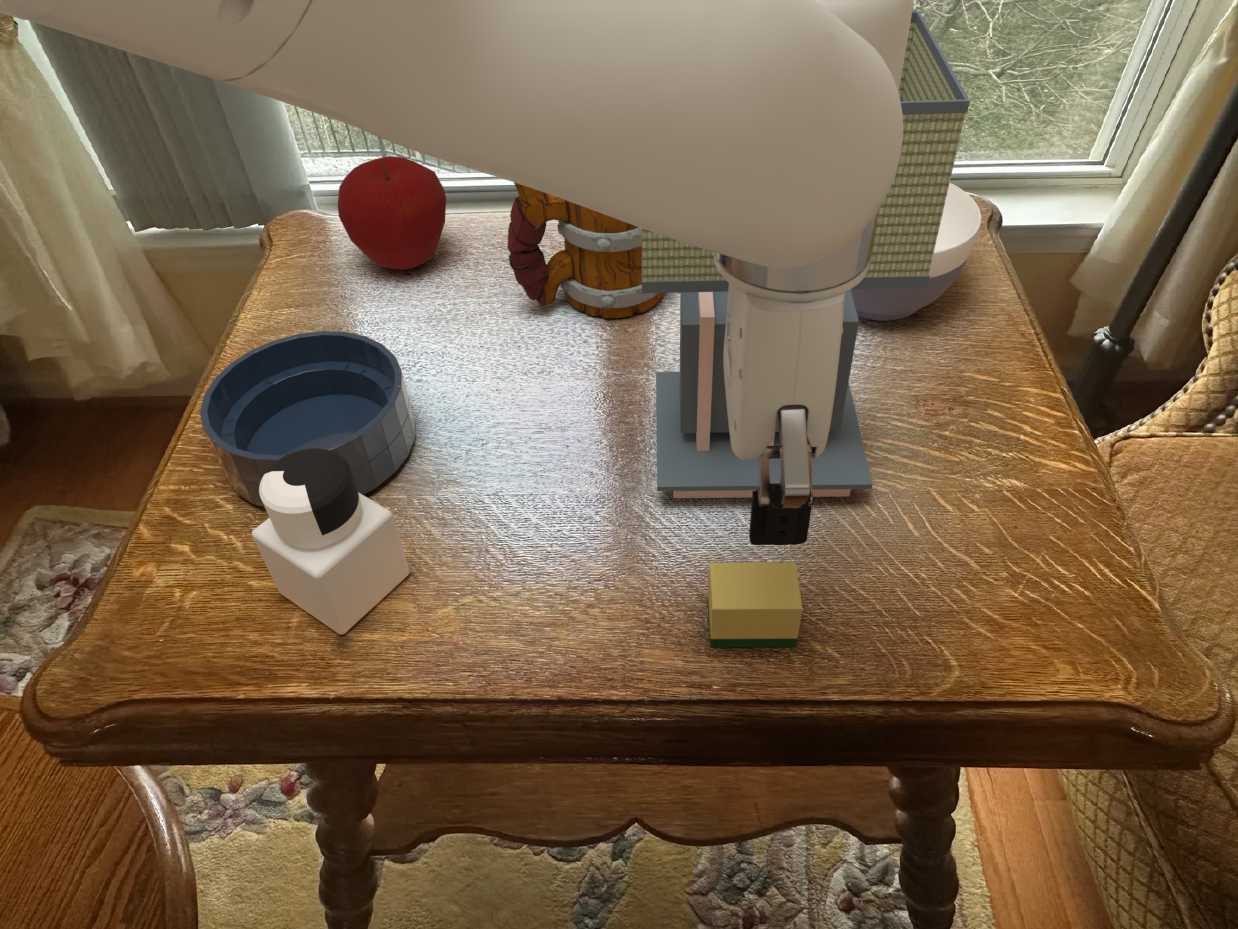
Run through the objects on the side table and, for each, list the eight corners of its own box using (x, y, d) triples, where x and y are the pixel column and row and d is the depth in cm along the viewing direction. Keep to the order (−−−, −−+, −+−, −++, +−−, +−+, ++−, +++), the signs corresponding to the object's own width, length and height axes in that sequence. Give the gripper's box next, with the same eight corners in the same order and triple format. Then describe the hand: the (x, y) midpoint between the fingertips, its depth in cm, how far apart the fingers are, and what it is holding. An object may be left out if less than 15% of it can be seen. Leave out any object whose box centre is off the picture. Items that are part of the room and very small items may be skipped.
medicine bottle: (348, 533, 75) (307, 422, 66) (412, 573, 72) (378, 461, 63) (277, 593, 71) (224, 483, 62) (342, 638, 68) (295, 528, 59)
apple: (342, 288, 99) (312, 187, 91) (371, 234, 107) (346, 136, 98) (443, 291, 98) (422, 189, 90) (466, 236, 106) (449, 137, 97)
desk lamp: (850, 390, 85) (918, 9, 62) (878, 506, 75) (971, 103, 52) (647, 393, 85) (639, 18, 62) (647, 508, 75) (637, 112, 52)
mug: (687, 303, 95) (689, 164, 84) (533, 346, 91) (515, 206, 80) (644, 251, 102) (641, 117, 92) (500, 289, 98) (479, 153, 88)
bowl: (790, 251, 101) (799, 168, 94) (941, 250, 100) (961, 166, 93) (805, 342, 90) (816, 256, 83) (975, 342, 89) (1000, 254, 82)
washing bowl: (313, 546, 74) (289, 490, 69) (188, 465, 81) (159, 408, 76) (454, 430, 83) (442, 372, 78) (330, 365, 90) (312, 310, 85)
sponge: (710, 647, 66) (712, 609, 63) (707, 601, 69) (709, 562, 66) (796, 647, 66) (802, 608, 62) (790, 600, 68) (795, 561, 65)
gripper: (706, 147, 51) (701, 387, 63) (725, 347, 39) (714, 595, 51) (845, 142, 51) (813, 384, 63) (909, 342, 39) (854, 593, 51)
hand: (769, 478), depth 57 cm, fingers open, 9 cm apart
